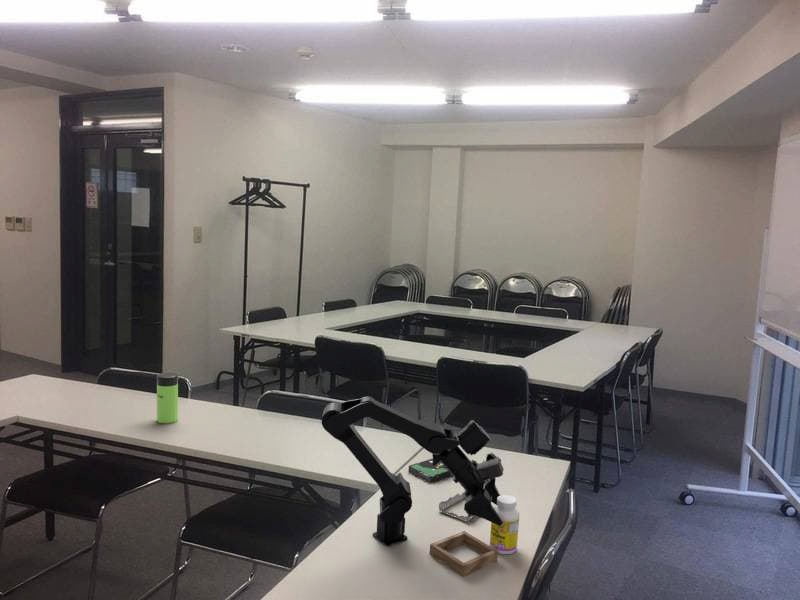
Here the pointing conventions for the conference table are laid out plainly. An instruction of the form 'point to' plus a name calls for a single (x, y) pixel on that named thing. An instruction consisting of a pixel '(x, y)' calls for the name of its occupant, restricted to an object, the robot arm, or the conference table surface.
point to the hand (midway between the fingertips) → (502, 515)
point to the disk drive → (429, 471)
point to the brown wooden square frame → (462, 568)
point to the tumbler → (167, 397)
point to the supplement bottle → (505, 526)
